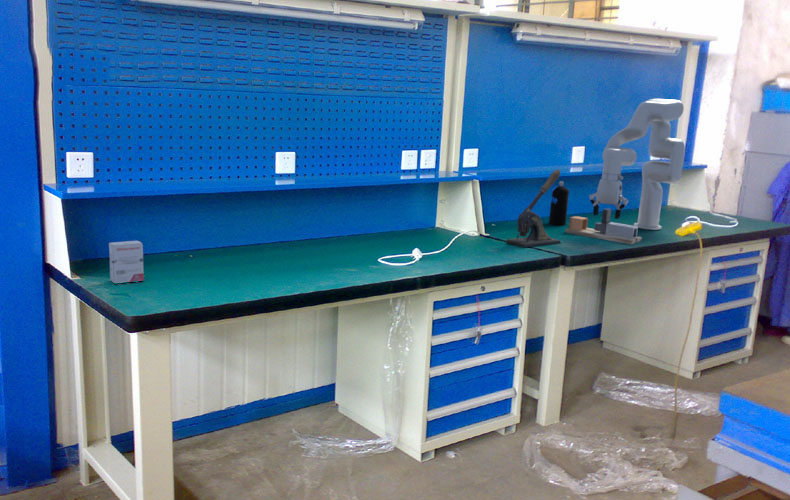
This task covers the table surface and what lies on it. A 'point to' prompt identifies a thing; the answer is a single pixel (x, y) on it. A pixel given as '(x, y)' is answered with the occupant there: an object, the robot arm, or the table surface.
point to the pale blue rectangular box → (621, 230)
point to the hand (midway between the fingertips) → (606, 216)
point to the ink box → (126, 261)
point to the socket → (578, 223)
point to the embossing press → (534, 221)
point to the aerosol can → (559, 205)
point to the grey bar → (604, 221)
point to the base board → (602, 236)
